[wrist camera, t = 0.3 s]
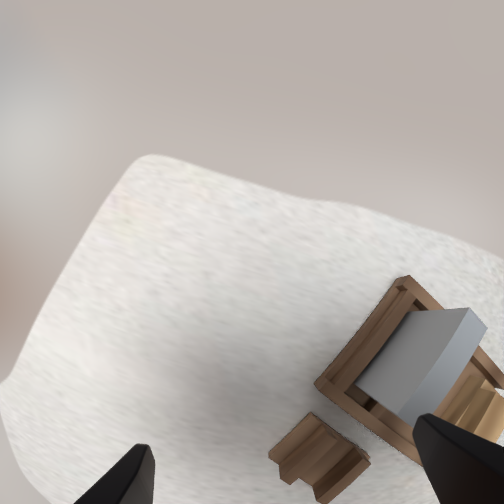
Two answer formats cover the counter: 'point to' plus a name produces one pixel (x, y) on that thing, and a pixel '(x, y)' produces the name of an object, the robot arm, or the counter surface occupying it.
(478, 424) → the offcut
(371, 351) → the rack
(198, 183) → the counter surface
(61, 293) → the counter surface
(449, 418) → the offcut
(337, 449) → the stand
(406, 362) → the gray rectangular block
